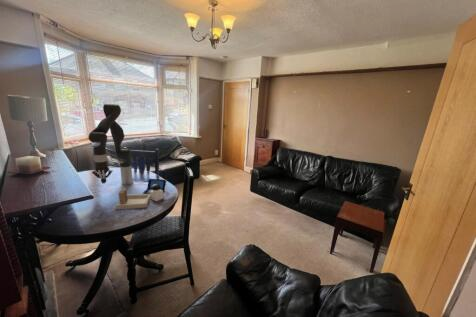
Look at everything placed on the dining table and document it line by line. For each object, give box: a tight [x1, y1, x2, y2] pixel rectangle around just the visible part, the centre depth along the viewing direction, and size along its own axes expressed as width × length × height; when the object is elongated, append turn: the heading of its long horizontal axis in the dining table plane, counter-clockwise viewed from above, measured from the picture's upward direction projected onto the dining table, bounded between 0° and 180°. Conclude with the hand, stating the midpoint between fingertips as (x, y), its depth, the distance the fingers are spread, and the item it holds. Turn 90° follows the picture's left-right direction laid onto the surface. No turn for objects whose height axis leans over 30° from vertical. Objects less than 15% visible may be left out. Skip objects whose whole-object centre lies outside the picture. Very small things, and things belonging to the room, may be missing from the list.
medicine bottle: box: [150, 184, 164, 202], centre depth 162 cm, size 7×7×12 cm
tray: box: [114, 193, 151, 210], centre depth 155 cm, size 17×21×3 cm
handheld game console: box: [142, 178, 167, 194], centre depth 175 cm, size 16×13×9 cm
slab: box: [118, 188, 128, 204], centre depth 152 cm, size 8×3×10 cm, turn 12°
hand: (103, 183), depth 147 cm, fingers closed
